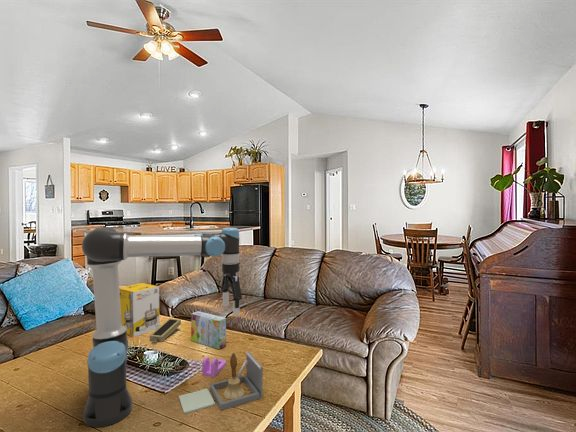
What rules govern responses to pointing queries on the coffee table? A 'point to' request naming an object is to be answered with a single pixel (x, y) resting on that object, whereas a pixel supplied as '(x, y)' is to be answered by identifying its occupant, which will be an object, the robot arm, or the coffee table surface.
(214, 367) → the bracket
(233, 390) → the hand bell
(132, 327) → the packaging box
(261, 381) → the hatch
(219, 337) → the snack box
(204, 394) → the pad
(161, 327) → the box
